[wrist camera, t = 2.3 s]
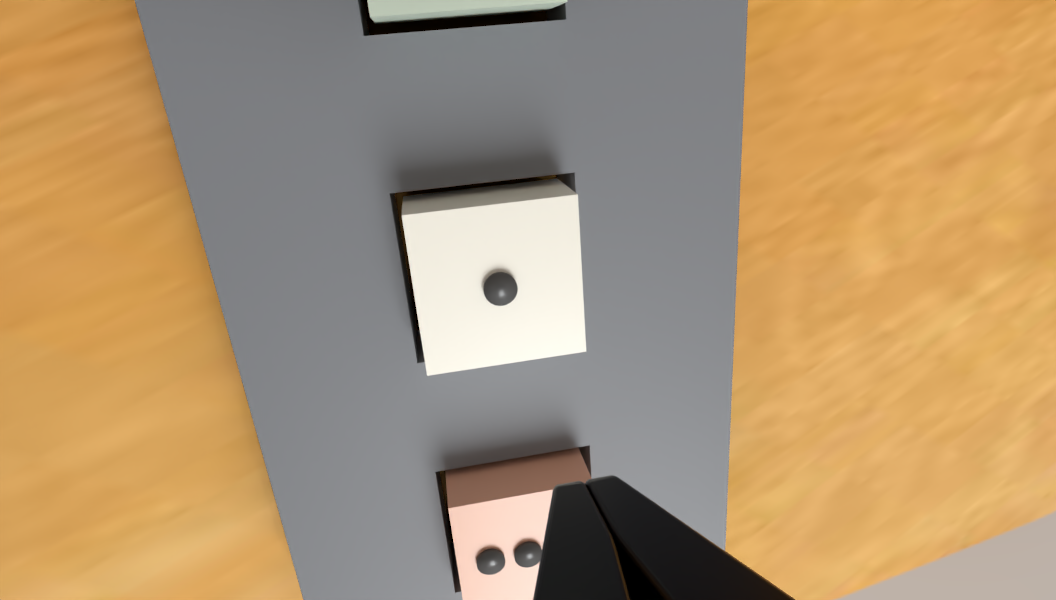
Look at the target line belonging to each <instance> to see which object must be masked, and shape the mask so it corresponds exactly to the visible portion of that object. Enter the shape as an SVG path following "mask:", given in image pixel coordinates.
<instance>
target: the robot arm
mask: <svg viewBox="0 0 1056 600" xmlns="http://www.w3.org/2000/svg"><path fill="white" fill-rule="evenodd" d="M533 600H795V599H794V598H792V597H791V596H789V595H788V594H786V593H785V592H784V591H782V590H781V589H779V588H778V587H776V586H775V585H773V584H772V583H771V582H769V581H768V580H766V579H765V578H763V577H762V576H760V575H759V574H757V573H756V572H755V571H753V570H752V569H750V568H749V567H747V566H746V565H744V564H743V563H742V562H740V561H739V560H737V559H736V558H734V557H733V556H731V555H730V554H729V553H727V552H726V551H724V550H723V549H721V548H720V547H718V546H717V545H716V544H714V543H713V542H711V541H710V540H708V539H707V538H705V537H704V536H703V535H701V534H700V533H698V532H697V531H695V530H694V529H692V528H691V527H689V526H688V525H687V524H685V523H684V522H682V521H681V520H679V519H678V518H676V517H675V516H674V515H672V514H671V513H669V512H668V511H666V510H665V509H663V508H662V507H661V506H659V505H658V504H656V503H655V502H653V501H652V500H650V499H649V498H648V497H646V496H645V495H643V494H642V493H640V492H639V491H637V490H636V489H634V488H633V487H632V486H630V485H629V484H627V483H626V482H624V481H623V480H621V479H620V478H619V477H617V476H614V475H609V476H603V477H598V478H592V479H588V480H587V481H586V483H584V482H581V481H576V482H570V483H564V484H559V485H556V486H555V487H554V489H553V492H552V498H551V503H550V509H549V514H548V520H547V525H546V531H545V536H544V542H543V547H542V553H541V558H540V564H539V569H538V575H537V580H536V586H535V591H534V597H533Z"/></svg>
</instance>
